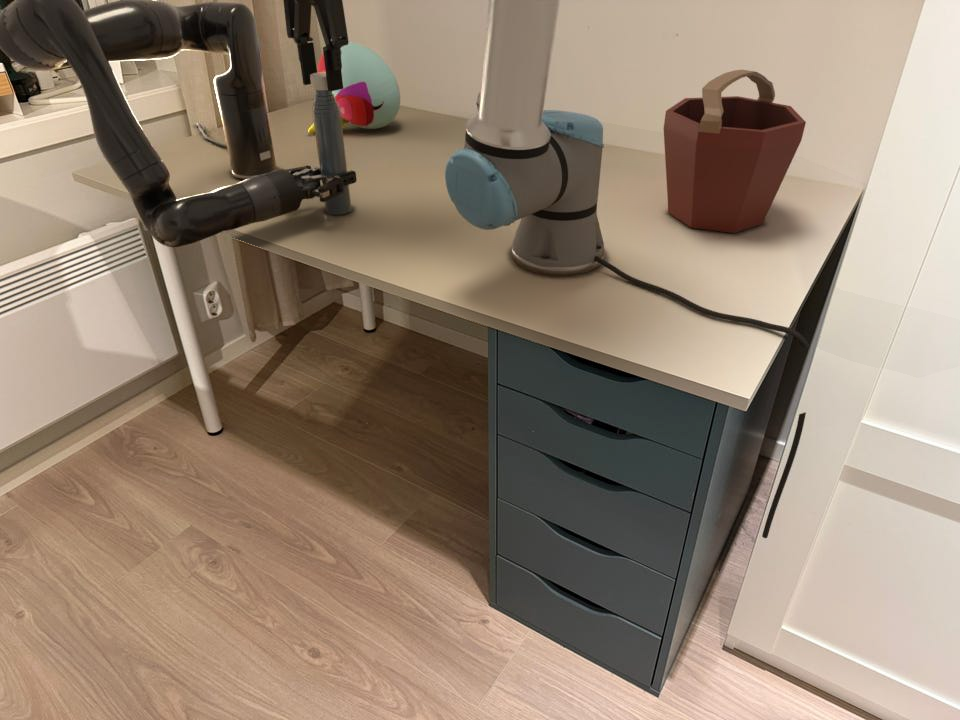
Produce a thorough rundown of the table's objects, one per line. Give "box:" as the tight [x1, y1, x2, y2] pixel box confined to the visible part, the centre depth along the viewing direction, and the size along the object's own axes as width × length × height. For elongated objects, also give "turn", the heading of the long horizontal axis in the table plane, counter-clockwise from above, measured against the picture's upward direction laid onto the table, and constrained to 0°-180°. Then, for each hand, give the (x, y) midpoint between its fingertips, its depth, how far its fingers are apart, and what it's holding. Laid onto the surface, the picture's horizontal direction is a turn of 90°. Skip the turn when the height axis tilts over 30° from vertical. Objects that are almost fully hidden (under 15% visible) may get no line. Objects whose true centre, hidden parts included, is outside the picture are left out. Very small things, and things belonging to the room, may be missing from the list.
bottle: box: [311, 90, 352, 216], centre depth 128 cm, size 5×5×24 cm
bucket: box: [663, 69, 807, 234], centre depth 125 cm, size 24×22×25 cm
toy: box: [307, 41, 401, 134], centre depth 176 cm, size 24×24×20 cm
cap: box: [310, 71, 328, 91], centre depth 122 cm, size 4×4×2 cm
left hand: (345, 172), depth 133 cm, fingers closed on bottle, 5 cm apart
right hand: (323, 86), depth 122 cm, fingers open, 6 cm apart
